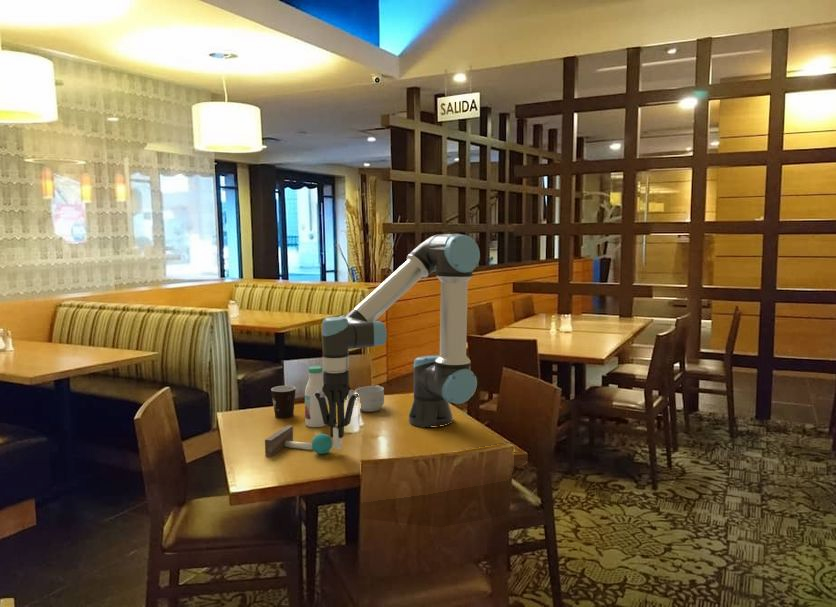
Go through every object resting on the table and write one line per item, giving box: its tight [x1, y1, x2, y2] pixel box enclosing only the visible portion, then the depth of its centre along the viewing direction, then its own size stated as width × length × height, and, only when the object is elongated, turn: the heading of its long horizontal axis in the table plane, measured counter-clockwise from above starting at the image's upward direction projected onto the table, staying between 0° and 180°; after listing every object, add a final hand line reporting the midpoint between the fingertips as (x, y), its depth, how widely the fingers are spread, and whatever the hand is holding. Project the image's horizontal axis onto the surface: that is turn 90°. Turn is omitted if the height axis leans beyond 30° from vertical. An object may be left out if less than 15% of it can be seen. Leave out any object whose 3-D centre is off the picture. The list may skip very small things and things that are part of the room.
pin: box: [285, 440, 314, 451], centre depth 194 cm, size 2×2×9 cm
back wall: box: [264, 425, 294, 458], centre depth 194 cm, size 2×14×5 cm, turn 165°
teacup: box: [354, 385, 385, 413], centre depth 236 cm, size 14×11×8 cm
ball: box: [311, 433, 333, 455], centre depth 189 cm, size 6×6×6 cm
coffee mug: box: [270, 385, 297, 420], centre depth 226 cm, size 12×9×10 cm
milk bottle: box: [304, 365, 329, 428], centre depth 217 cm, size 8×8×20 cm
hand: (337, 447), depth 189 cm, fingers closed
